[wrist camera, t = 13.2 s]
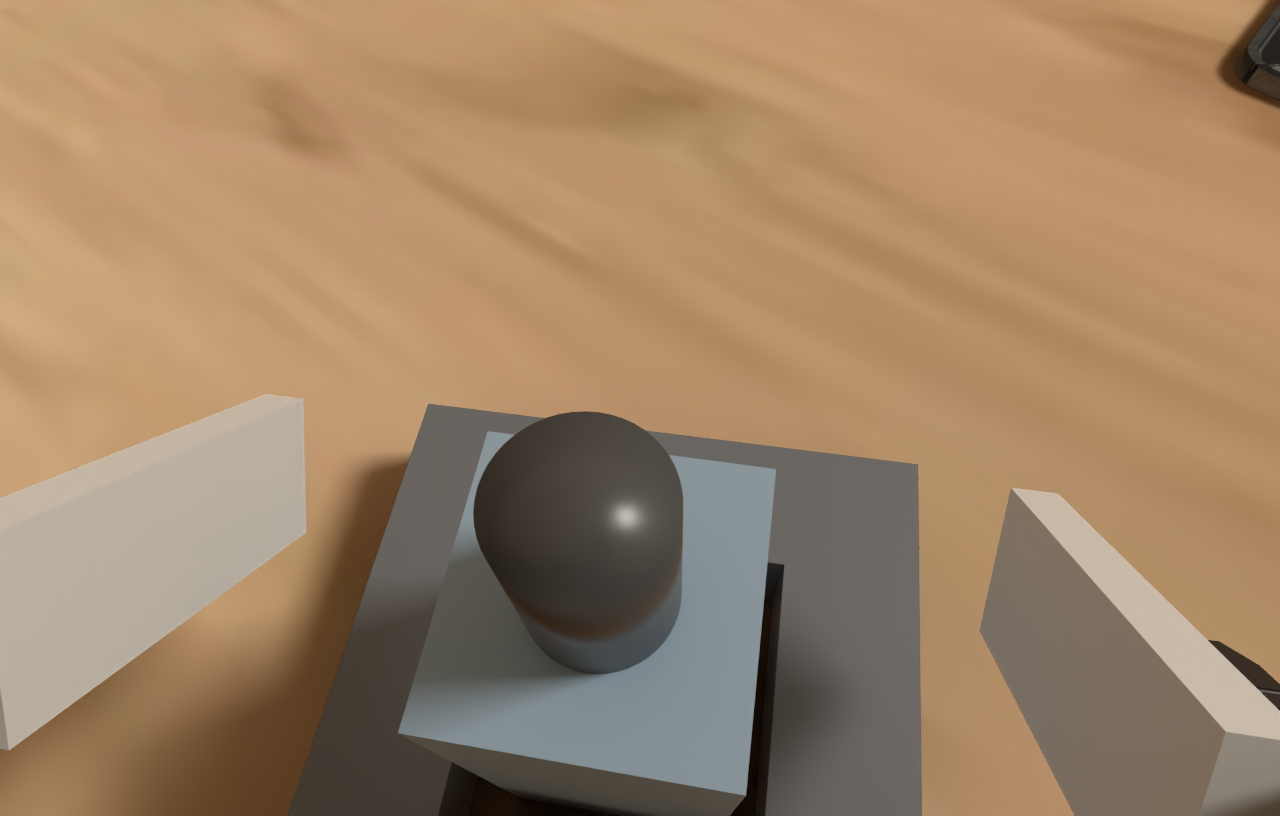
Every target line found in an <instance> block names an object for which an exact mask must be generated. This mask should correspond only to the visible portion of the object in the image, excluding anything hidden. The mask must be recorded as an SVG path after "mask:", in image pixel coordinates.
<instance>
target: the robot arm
mask: <svg viewBox="0 0 1280 816" xmlns="http://www.w3.org/2000/svg"><path fill="white" fill-rule="evenodd" d="M305 533H306V492H305V449H304V405H303V399H302V398H294V397H286V396H278V395H270V394H264V395H262V396H259V397H257V398H254V399H252V400H249V401H247V402H244V403H241V404H239V405H236V406H234V407H231V408H229V409H226V410H224V411H221V412H219V413H216V414H213V415H211V416H208V417H206V418H203V419H201V420H198V421H196V422H193V423H190V424H188V425H185V426H183V427H180V428H178V429H175V430H173V431H170V432H167V433H165V434H162V435H160V436H157V437H155V438H152V439H150V440H147V441H144V442H142V443H139V444H137V445H134V446H132V447H129V448H127V449H124V450H121V451H119V452H116V453H114V454H111V455H109V456H106V457H104V458H101V459H98V460H96V461H93V462H91V463H88V464H86V465H83V466H81V467H78V468H75V469H73V470H70V471H68V472H65V473H63V474H60V475H58V476H55V477H52V478H50V479H47V480H45V481H42V482H40V483H37V484H35V485H32V486H29V487H27V488H24V489H22V490H19V491H17V492H14V493H12V494H9V495H7V496H4V497H1V498H0V749H4V750H10V749H12V748H13V747H14V746H16V745H17V744H18V743H20V742H21V741H23V740H24V739H25V738H27V737H28V736H29V735H31V734H32V733H33V732H35V731H36V730H38V729H39V728H40V727H42V726H43V725H44V724H46V723H47V722H48V721H50V720H51V719H53V718H54V717H55V716H57V715H58V714H59V713H61V712H62V711H63V710H65V709H66V708H68V707H69V706H70V705H72V704H73V703H74V702H76V701H77V700H79V699H80V698H81V697H83V696H84V695H85V694H87V693H88V692H89V691H91V690H92V689H94V688H95V687H96V686H98V685H99V684H100V683H102V682H103V681H104V680H106V679H107V678H109V677H110V676H111V675H113V674H114V673H115V672H117V671H118V670H119V669H121V668H122V667H124V666H125V665H126V664H128V663H129V662H130V661H132V660H133V659H134V658H136V657H137V656H139V655H140V654H141V653H143V652H144V651H145V650H147V649H148V648H149V647H151V646H152V645H154V644H155V643H156V642H158V641H159V640H160V639H162V638H163V637H164V636H166V635H167V634H169V633H170V632H171V631H173V630H174V629H175V628H177V627H178V626H179V625H181V624H182V623H184V622H185V621H186V620H188V619H189V618H190V617H192V616H193V615H194V614H196V613H197V612H199V611H200V610H201V609H203V608H204V607H205V606H207V605H208V604H209V603H211V602H212V601H214V600H215V599H216V598H218V597H219V596H220V595H222V594H223V593H225V592H226V591H227V590H229V589H230V588H231V587H233V586H234V585H235V584H237V583H238V582H240V581H241V580H242V579H244V578H245V577H246V576H248V575H249V574H250V573H252V572H253V571H255V570H256V569H257V568H259V567H260V566H261V565H263V564H264V563H265V562H267V561H268V560H270V559H271V558H272V557H274V556H275V555H276V554H278V553H279V552H280V551H282V550H283V549H285V548H286V547H287V546H289V545H290V544H291V543H293V542H294V541H295V540H297V539H298V538H300V537H301V536H302V535H304V534H305ZM980 632H981V634H982V636H983V638H984V640H985V642H986V644H987V646H988V648H989V650H990V652H991V654H992V656H993V658H994V659H995V661H996V663H997V665H998V667H999V669H1000V671H1001V673H1002V675H1003V677H1004V679H1005V681H1006V683H1007V685H1008V687H1009V689H1010V691H1011V693H1012V694H1013V696H1014V698H1015V700H1016V702H1017V704H1018V706H1019V708H1020V710H1021V712H1022V714H1023V716H1024V718H1025V720H1026V722H1027V724H1028V726H1029V728H1030V729H1031V731H1032V733H1033V735H1034V737H1035V739H1036V741H1037V743H1038V745H1039V747H1040V749H1041V751H1042V753H1043V755H1044V757H1045V759H1046V761H1047V763H1048V764H1049V766H1050V768H1051V770H1052V772H1053V774H1054V776H1055V778H1056V780H1057V782H1058V784H1059V786H1060V788H1061V790H1062V792H1063V794H1064V796H1065V798H1066V799H1067V801H1068V803H1069V805H1070V807H1071V809H1072V811H1073V813H1074V815H1075V816H1280V684H1279V683H1278V682H1277V681H1275V680H1274V679H1273V678H1272V677H1271V676H1270V675H1269V674H1268V673H1267V672H1266V671H1265V670H1264V669H1263V668H1261V667H1260V666H1259V665H1258V664H1256V663H1254V662H1253V661H1251V660H1249V659H1248V658H1246V657H1244V656H1243V655H1241V654H1239V653H1238V652H1236V651H1234V650H1233V649H1231V648H1229V647H1228V646H1226V645H1224V644H1223V643H1221V642H1219V641H1212V640H1207V639H1206V638H1205V637H1204V636H1203V635H1202V634H1201V633H1200V632H1199V631H1198V630H1197V629H1196V628H1195V627H1194V626H1193V625H1192V624H1191V623H1190V622H1189V621H1187V620H1186V619H1185V618H1184V617H1183V616H1182V615H1181V614H1180V613H1179V612H1178V611H1177V610H1176V609H1175V608H1174V607H1173V606H1172V605H1171V604H1170V603H1169V602H1168V601H1167V600H1166V599H1165V598H1164V597H1163V596H1162V595H1161V594H1160V593H1159V592H1158V591H1157V590H1156V589H1155V588H1154V587H1153V586H1152V585H1151V584H1150V583H1149V582H1148V581H1147V580H1146V579H1145V578H1144V577H1143V576H1141V575H1140V574H1139V573H1138V572H1137V571H1136V570H1135V569H1134V568H1133V567H1132V566H1131V565H1130V564H1129V563H1128V562H1127V561H1126V560H1125V559H1124V558H1123V557H1122V556H1121V555H1120V554H1119V553H1118V552H1117V551H1116V550H1115V549H1114V548H1113V547H1112V546H1111V545H1110V544H1109V543H1108V542H1107V541H1106V540H1105V539H1104V538H1103V537H1102V536H1101V535H1100V534H1099V533H1098V532H1097V531H1096V530H1094V529H1093V528H1092V527H1091V526H1090V525H1089V524H1088V523H1087V522H1086V521H1085V520H1084V519H1083V518H1082V517H1081V516H1080V515H1079V514H1078V513H1077V512H1076V511H1075V510H1074V509H1073V508H1072V507H1071V506H1070V505H1069V504H1068V503H1067V502H1066V501H1065V500H1064V499H1063V498H1062V497H1061V496H1060V495H1059V494H1057V493H1049V492H1041V491H1033V490H1025V489H1017V488H1011V490H1010V495H1009V500H1008V504H1007V509H1006V513H1005V518H1004V522H1003V527H1002V531H1001V536H1000V540H999V545H998V550H997V554H996V559H995V563H994V568H993V572H992V577H991V581H990V586H989V591H988V595H987V600H986V604H985V609H984V613H983V618H982V622H981V627H980Z"/></svg>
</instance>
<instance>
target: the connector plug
mask: <svg viewBox="0 0 1280 816" xmlns="http://www.w3.org/2000/svg"><path fill="white" fill-rule="evenodd" d="M775 476H776V469H772V468H764V467H757V466H749V465H741V464H734V463H726V462H719V461H711V460H703V459H696V458H688V457H681V456H673V455H668V453H667V452H666V451H665V449H664V448H663V446H662V445H661V444H660V443H659V442H658V441H657V440H656V439H655V438H654V437H653V436H651V435H650V434H649V433H648V432H646V431H645V430H644V429H642V428H640V427H639V426H637V425H635V424H634V423H632V422H629V421H627V420H625V419H623V418H619V417H616V416H613V415H609V414H604V413H599V412H570V413H564V414H559V415H555V416H551V417H548V418H545V419H543V420H540V421H538V422H535V423H533V424H531V425H530V426H528V427H526V428H524V429H523V430H521V431H520V432H518V433H517V434H515V435H513V434H506V433H498V432H490V431H488V432H487V435H486V439H485V442H484V446H483V449H482V452H481V456H480V459H479V462H478V466H477V469H476V472H475V476H474V479H473V482H472V486H471V489H470V493H469V496H468V499H467V503H466V506H465V509H464V513H463V516H462V519H461V523H460V526H459V529H458V533H457V536H456V540H455V543H454V546H453V550H452V553H451V556H450V560H449V563H448V566H447V570H446V573H445V576H444V580H443V583H442V587H441V590H440V593H439V597H438V600H437V603H436V607H435V610H434V613H433V617H432V620H431V623H430V627H429V630H428V634H427V637H426V640H425V644H424V647H423V650H422V654H421V657H420V660H419V664H418V667H417V670H416V674H415V677H414V681H413V684H412V687H411V691H410V694H409V697H408V701H407V704H406V707H405V711H404V714H403V717H402V721H401V724H400V728H399V731H398V734H400V735H402V736H404V737H406V738H408V739H410V740H412V741H413V742H415V743H417V744H419V745H421V746H423V747H425V748H427V749H429V750H430V751H432V752H434V753H436V754H438V755H440V756H442V757H444V758H446V759H447V760H449V761H451V762H453V763H455V764H457V765H459V766H461V767H463V768H464V769H466V770H468V771H470V772H472V773H474V774H476V775H478V776H479V777H481V778H483V779H485V780H487V781H489V782H491V783H493V784H495V785H496V786H498V787H500V788H502V789H504V790H506V791H508V792H510V793H512V794H513V795H515V796H517V797H521V798H526V799H532V800H537V801H542V802H548V803H553V804H558V805H564V806H569V807H575V808H580V809H585V810H591V811H596V812H601V813H607V814H612V815H618V816H730V815H731V814H732V812H733V811H734V810H735V809H736V807H737V806H738V805H739V804H740V802H741V801H742V800H743V799H744V798H745V796H746V791H747V780H748V769H749V758H750V747H751V736H752V726H753V715H754V704H755V693H756V682H757V671H758V661H759V650H760V639H761V628H762V617H763V606H764V596H765V585H766V574H767V563H768V552H769V541H770V530H771V520H772V509H773V498H774V487H775Z"/></svg>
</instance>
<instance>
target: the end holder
mask: <svg viewBox="0 0 1280 816" xmlns="http://www.w3.org/2000/svg"><path fill="white" fill-rule="evenodd" d="M543 419H545V418H539V417H531V416H523V415H515V414H507V413H499V412H490V411H482V410H474V409H466V408H458V407H450V406H442V405H434V404H428V406H427V409H426V412H425V415H424V418H423V421H422V424H421V427H420V430H419V433H418V436H417V439H416V441H415V444H414V447H413V450H412V453H411V456H410V459H409V462H408V465H407V468H406V471H405V474H404V477H403V480H402V483H401V485H400V488H399V491H398V494H397V497H396V500H395V503H394V506H393V509H392V512H391V515H390V518H389V521H388V524H387V527H386V529H385V532H384V535H383V538H382V541H381V544H380V547H379V550H378V553H377V556H376V559H375V562H374V565H373V568H372V570H371V573H370V576H369V579H368V582H367V585H366V588H365V591H364V594H363V597H362V600H361V603H360V606H359V609H358V612H357V614H356V617H355V620H354V623H353V626H352V629H351V632H350V635H349V638H348V641H347V644H346V647H345V650H344V653H343V655H342V658H341V661H340V664H339V667H338V670H337V673H336V676H335V679H334V682H333V685H332V688H331V691H330V694H329V697H328V699H327V702H326V705H325V708H324V711H323V714H322V717H321V720H320V723H319V726H318V729H317V732H316V735H315V738H314V741H313V743H312V746H311V749H310V752H309V755H308V758H307V761H306V764H305V767H304V770H303V773H302V776H301V779H300V782H299V784H298V787H297V790H296V793H295V796H294V799H293V802H292V805H291V808H290V811H289V814H288V816H469V813H470V809H471V805H472V801H473V796H474V792H475V788H476V784H477V780H478V775H476V774H474V773H472V772H470V771H468V770H466V769H464V768H463V767H461V766H459V765H457V764H455V763H453V762H451V761H449V760H447V759H446V758H444V757H442V756H440V755H438V754H436V753H434V752H432V751H430V750H429V749H427V748H425V747H423V746H421V745H419V744H417V743H415V742H413V741H412V740H410V739H408V738H406V737H404V736H402V735H400V734H398V731H399V728H400V724H401V721H402V717H403V714H404V711H405V707H406V704H407V701H408V697H409V694H410V691H411V687H412V684H413V681H414V677H415V674H416V670H417V667H418V664H419V660H420V657H421V654H422V650H423V647H424V644H425V640H426V637H427V634H428V630H429V627H430V623H431V620H432V617H433V613H434V610H435V607H436V603H437V600H438V597H439V593H440V590H441V587H442V583H443V580H444V576H445V573H446V570H447V566H448V563H449V560H450V556H451V553H452V550H453V546H454V543H455V540H456V536H457V533H458V529H459V526H460V523H461V519H462V516H463V513H464V509H465V506H466V503H467V499H468V496H469V493H470V489H471V486H472V482H473V479H474V476H475V472H476V469H477V466H478V462H479V459H480V456H481V452H482V449H483V446H484V442H485V439H486V435H487V432H488V431H490V432H498V433H506V434H513V435H515V434H517V433H518V432H520V431H521V430H523V429H524V428H526V427H528V426H530V425H531V424H533V423H535V422H538V421H540V420H543ZM646 432H648V433H649V434H650V435H651V436H653V437H654V438H655V439H656V440H657V441H658V442H659V443H660V444H661V445H662V446H663V448H664V449H665V451H666V452H667V453H668V455H673V456H681V457H688V458H696V459H703V460H711V461H719V462H726V463H734V464H741V465H749V466H757V467H764V468H772V469H776V476H775V487H774V498H773V509H772V520H771V530H770V541H769V552H768V563H767V574H766V585H765V596H764V598H770V599H773V602H772V614H771V627H770V639H769V651H768V663H767V676H766V688H765V700H764V712H763V725H762V737H761V749H760V761H759V774H758V786H757V798H756V810H755V816H922V792H921V700H920V608H919V517H918V464H910V463H901V462H893V461H885V460H877V459H869V458H861V457H853V456H845V455H837V454H829V453H821V452H813V451H805V450H797V449H789V448H781V447H773V446H764V445H756V444H748V443H740V442H732V441H724V440H716V439H708V438H700V437H692V436H684V435H676V434H668V433H660V432H652V431H646Z"/></svg>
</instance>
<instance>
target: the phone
mask: <svg viewBox="0 0 1280 816" xmlns="http://www.w3.org/2000/svg"><path fill="white" fill-rule="evenodd" d="M1235 70H1236V74H1237V75H1238V77H1239V78H1240V80H1241V81H1242V82H1244V83H1245V84H1246V85H1247V86H1249V87H1251V88H1253V89H1255V90H1257V91H1259V92H1262V93H1264V94H1267V95H1269V96H1272V97H1274V98H1277V99H1279V100H1280V3H1279V4H1278V6H1277V7H1276V8H1275V10H1274V11H1273V13H1272V14H1271V15H1270V17H1269V18H1268V19H1267V21H1266V22H1265V23H1264V25H1263V26H1262V27H1261V29H1260V30H1259V31H1258V33H1257V34H1256V35H1255V37H1254V38H1253V39H1252V41H1251V42H1250V43H1249V45H1248V46H1247V48H1246V49H1245V51H1244V52H1243V53H1242V55H1241V56H1240V58H1239V59H1238V61H1237V63H1236V66H1235Z"/></svg>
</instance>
